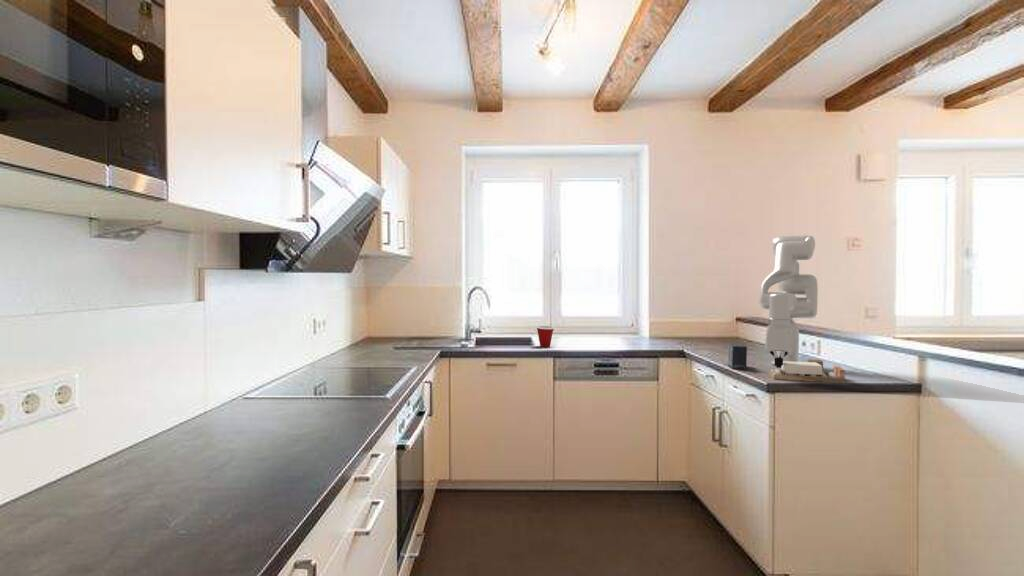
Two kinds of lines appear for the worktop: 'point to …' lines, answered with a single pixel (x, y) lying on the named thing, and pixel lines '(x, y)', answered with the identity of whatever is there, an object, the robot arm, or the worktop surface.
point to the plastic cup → (545, 335)
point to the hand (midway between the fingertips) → (778, 367)
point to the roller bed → (812, 375)
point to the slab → (802, 367)
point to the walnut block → (816, 362)
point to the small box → (737, 356)
